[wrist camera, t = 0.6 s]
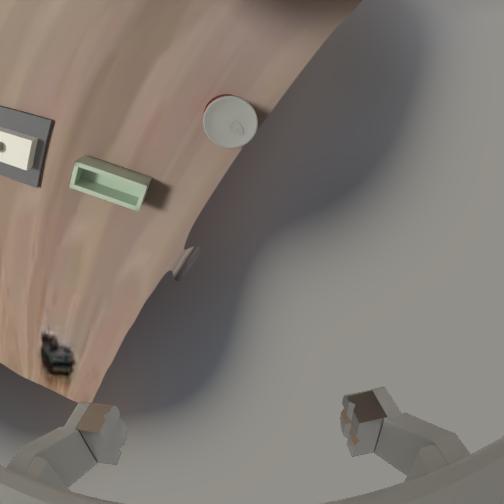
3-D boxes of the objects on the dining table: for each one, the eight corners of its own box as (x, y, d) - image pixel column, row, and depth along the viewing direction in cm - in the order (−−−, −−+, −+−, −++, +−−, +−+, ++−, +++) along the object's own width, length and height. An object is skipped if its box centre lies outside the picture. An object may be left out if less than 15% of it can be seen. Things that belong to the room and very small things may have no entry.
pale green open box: (85, 154, 49) (75, 161, 45) (152, 177, 54) (147, 186, 49) (79, 178, 51) (69, 187, 47) (144, 201, 56) (138, 211, 52)
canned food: (236, 144, 53) (242, 157, 43) (195, 124, 50) (192, 134, 41) (257, 107, 50) (268, 112, 40) (216, 86, 47) (218, 86, 38)
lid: (-17, 122, 40) (-27, 125, 37) (38, 138, 45) (28, 142, 42) (-21, 148, 42) (-31, 153, 39) (32, 166, 47) (23, 172, 44)
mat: (-16, 101, 38) (-19, 102, 37) (53, 120, 44) (51, 120, 44) (-26, 163, 44) (-28, 164, 43) (38, 186, 50) (36, 187, 50)
